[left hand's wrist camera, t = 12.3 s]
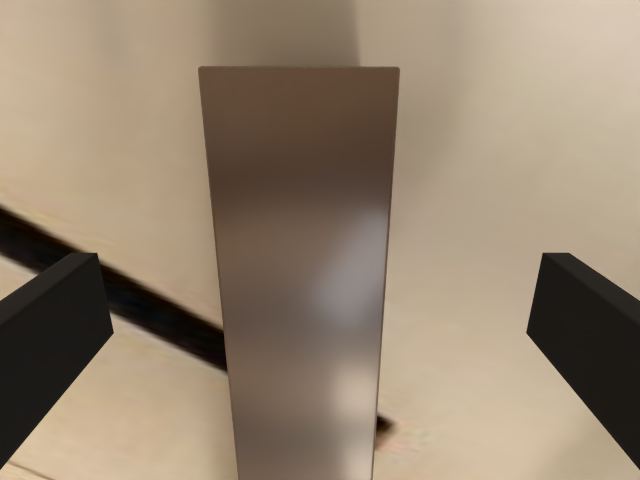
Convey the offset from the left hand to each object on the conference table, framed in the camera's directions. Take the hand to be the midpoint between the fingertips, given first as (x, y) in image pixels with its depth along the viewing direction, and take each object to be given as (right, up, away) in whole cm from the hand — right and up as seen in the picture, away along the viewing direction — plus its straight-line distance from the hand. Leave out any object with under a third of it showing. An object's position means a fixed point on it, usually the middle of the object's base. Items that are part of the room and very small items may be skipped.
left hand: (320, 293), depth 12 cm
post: (-1, -28, +20) cm, 35 cm away
